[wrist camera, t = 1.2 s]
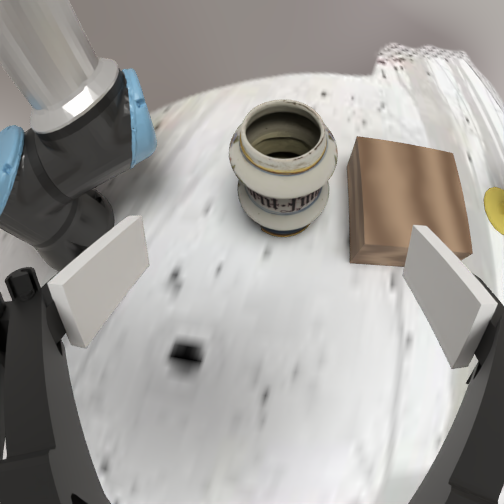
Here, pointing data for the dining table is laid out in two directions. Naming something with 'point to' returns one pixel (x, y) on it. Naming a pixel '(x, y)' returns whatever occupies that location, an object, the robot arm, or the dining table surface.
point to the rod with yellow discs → (495, 207)
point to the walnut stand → (402, 200)
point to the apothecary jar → (283, 165)
